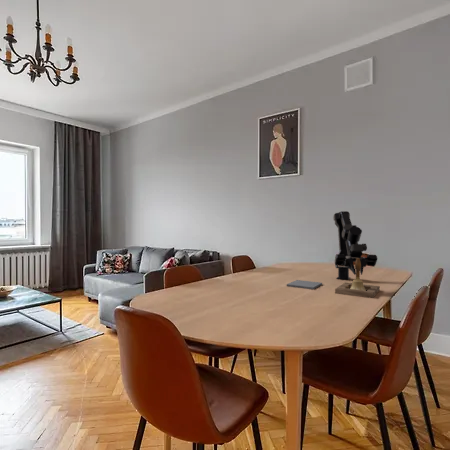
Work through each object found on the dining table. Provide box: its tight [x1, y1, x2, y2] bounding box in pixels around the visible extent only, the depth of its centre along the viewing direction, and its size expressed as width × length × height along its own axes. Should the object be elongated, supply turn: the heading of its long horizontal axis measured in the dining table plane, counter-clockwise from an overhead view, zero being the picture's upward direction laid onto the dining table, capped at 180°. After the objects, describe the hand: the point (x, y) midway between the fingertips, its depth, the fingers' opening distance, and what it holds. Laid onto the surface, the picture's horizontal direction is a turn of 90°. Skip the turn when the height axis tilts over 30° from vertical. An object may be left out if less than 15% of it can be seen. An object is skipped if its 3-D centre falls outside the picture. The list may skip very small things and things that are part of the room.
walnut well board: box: [334, 282, 380, 299], centre depth 147 cm, size 18×16×2 cm
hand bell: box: [350, 258, 366, 291], centre depth 147 cm, size 8×8×16 cm
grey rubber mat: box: [286, 279, 323, 290], centre depth 162 cm, size 14×14×1 cm
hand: (358, 274), depth 146 cm, fingers open, 3 cm apart
